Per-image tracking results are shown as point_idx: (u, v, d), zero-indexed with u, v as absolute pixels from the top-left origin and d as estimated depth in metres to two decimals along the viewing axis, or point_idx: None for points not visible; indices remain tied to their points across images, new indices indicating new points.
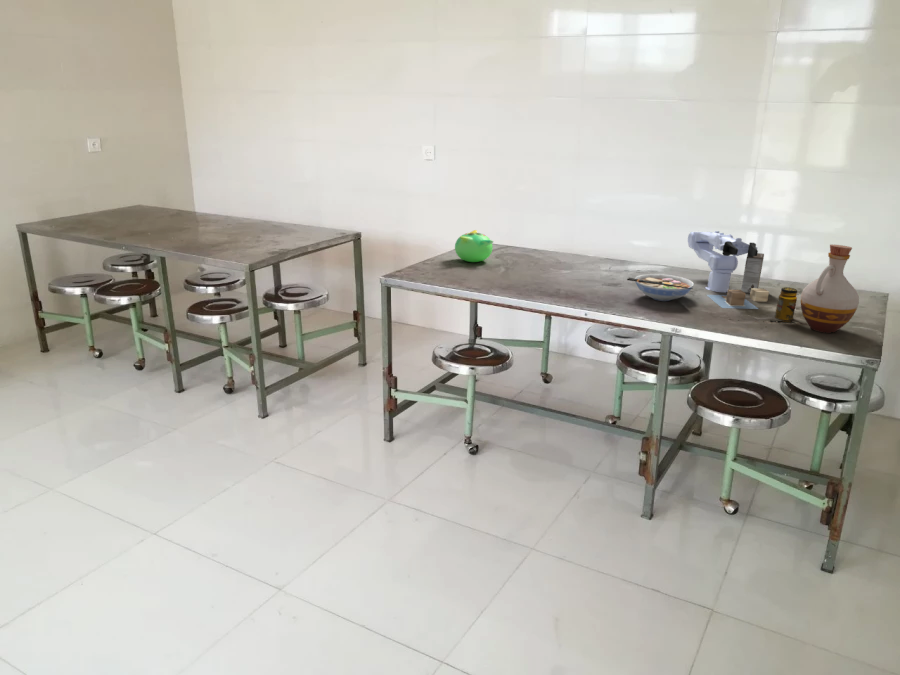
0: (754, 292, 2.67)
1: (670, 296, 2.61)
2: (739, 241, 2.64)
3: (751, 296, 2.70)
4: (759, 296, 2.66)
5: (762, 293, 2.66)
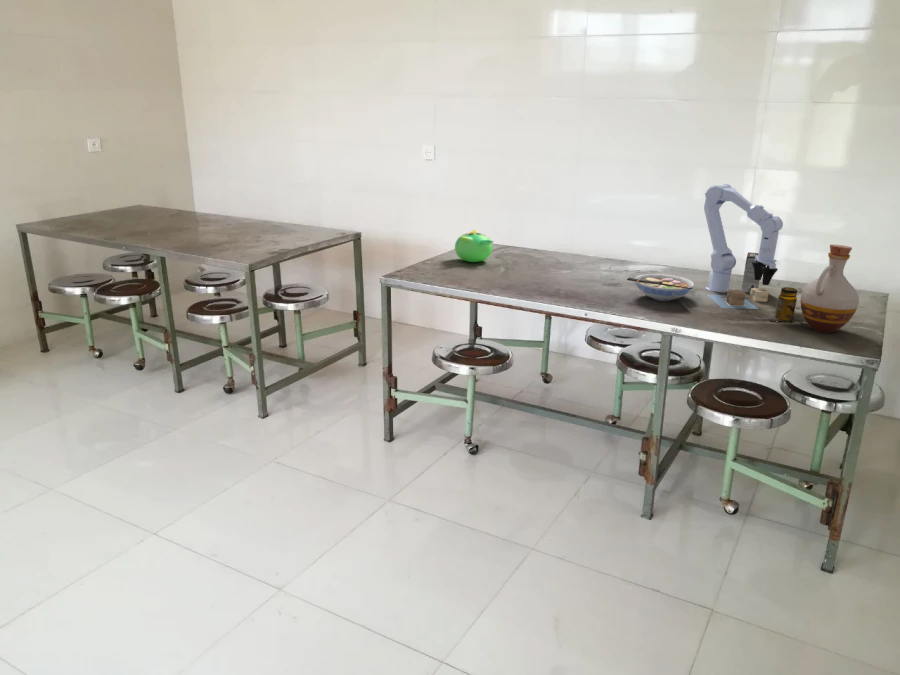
0: (754, 292, 2.67)
1: (670, 296, 2.61)
2: None
3: (751, 296, 2.70)
4: (759, 296, 2.66)
5: (762, 293, 2.66)
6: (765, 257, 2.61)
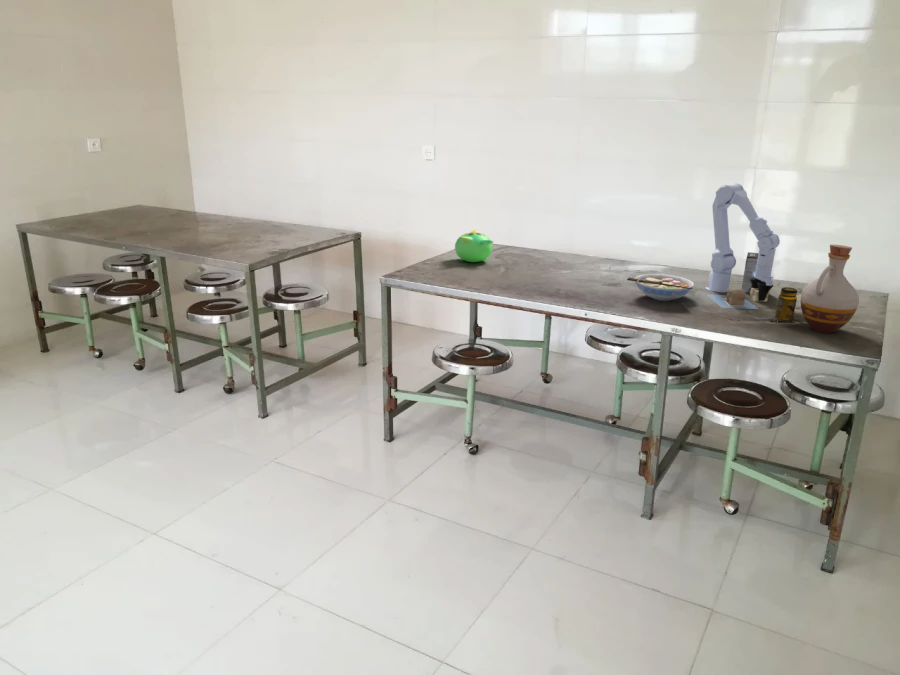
0: (754, 292, 2.67)
1: (670, 296, 2.61)
2: None
3: (751, 296, 2.70)
4: None
5: None
6: (762, 274, 2.63)
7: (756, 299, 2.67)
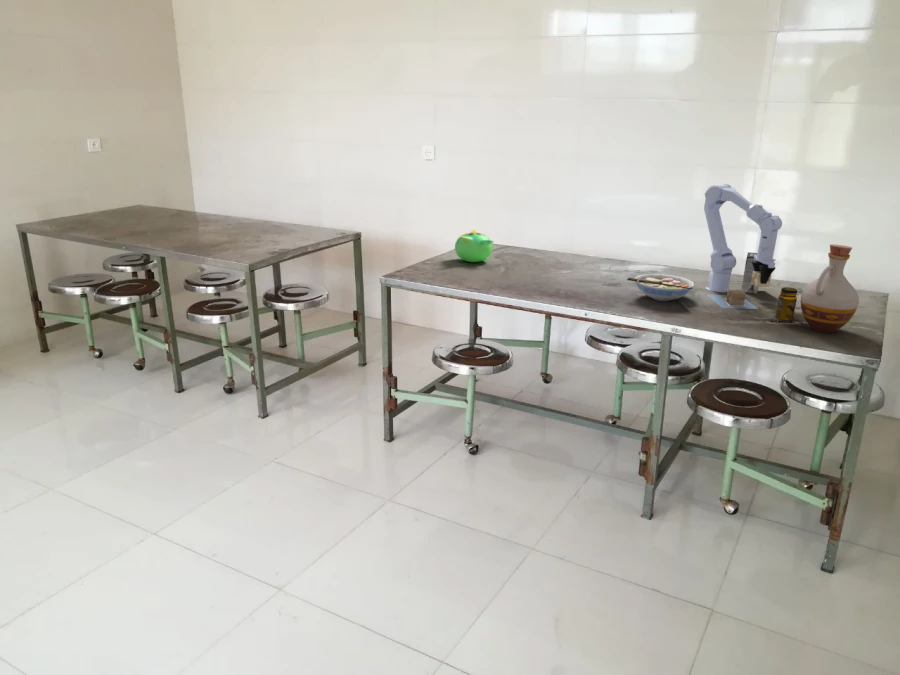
0: (756, 275, 2.64)
1: (670, 296, 2.61)
2: None
3: (753, 279, 2.67)
4: None
5: None
6: (764, 257, 2.60)
7: (758, 282, 2.64)
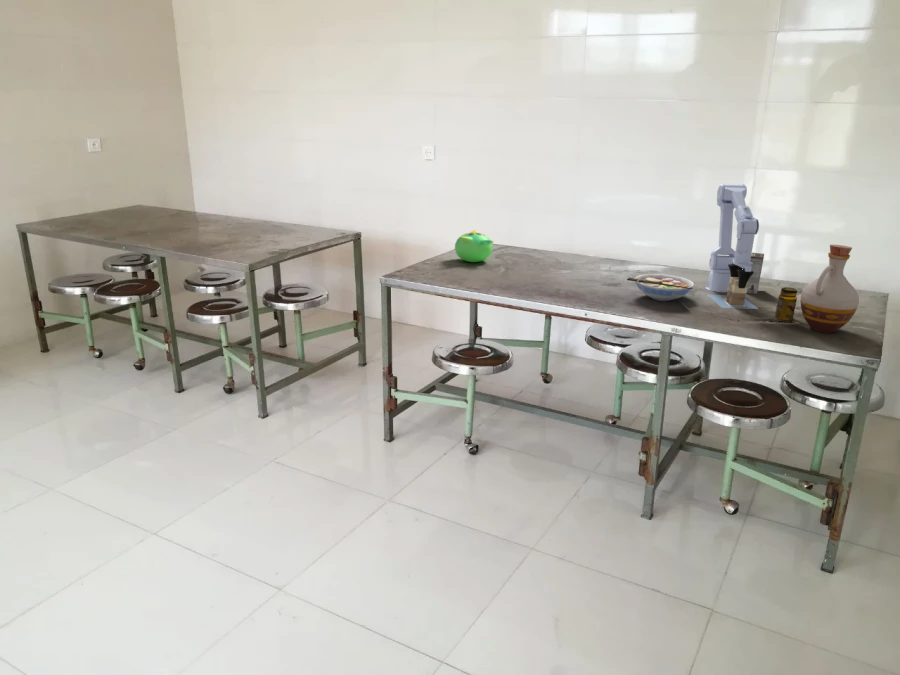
0: (733, 281, 2.59)
1: (670, 296, 2.61)
2: None
3: (730, 285, 2.61)
4: None
5: None
6: (741, 260, 2.54)
7: (735, 288, 2.58)
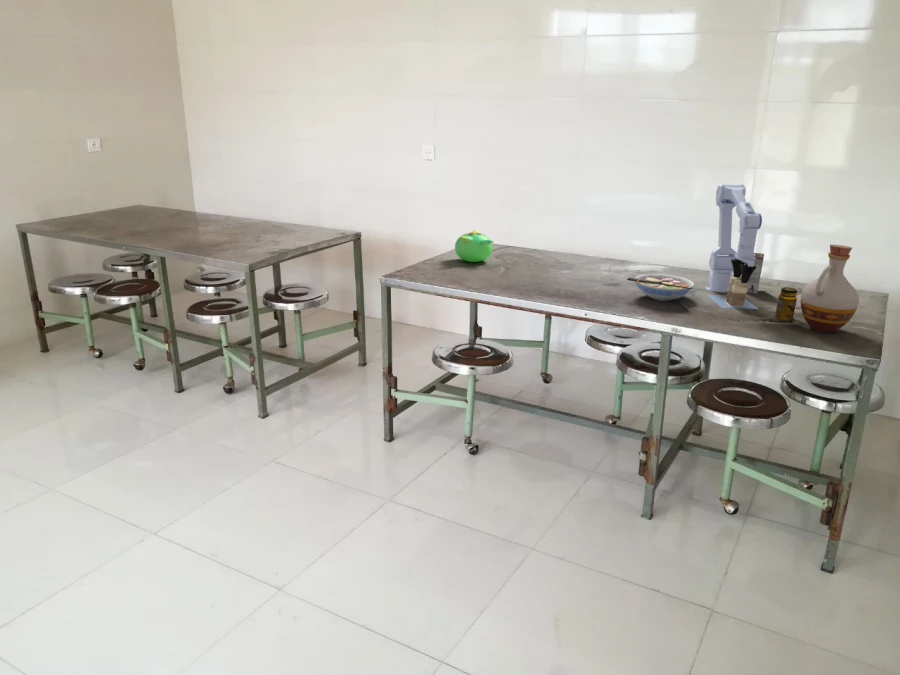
0: (733, 281, 2.59)
1: (670, 296, 2.61)
2: None
3: (730, 285, 2.61)
4: (738, 285, 2.58)
5: None
6: (744, 255, 2.54)
7: (735, 288, 2.58)
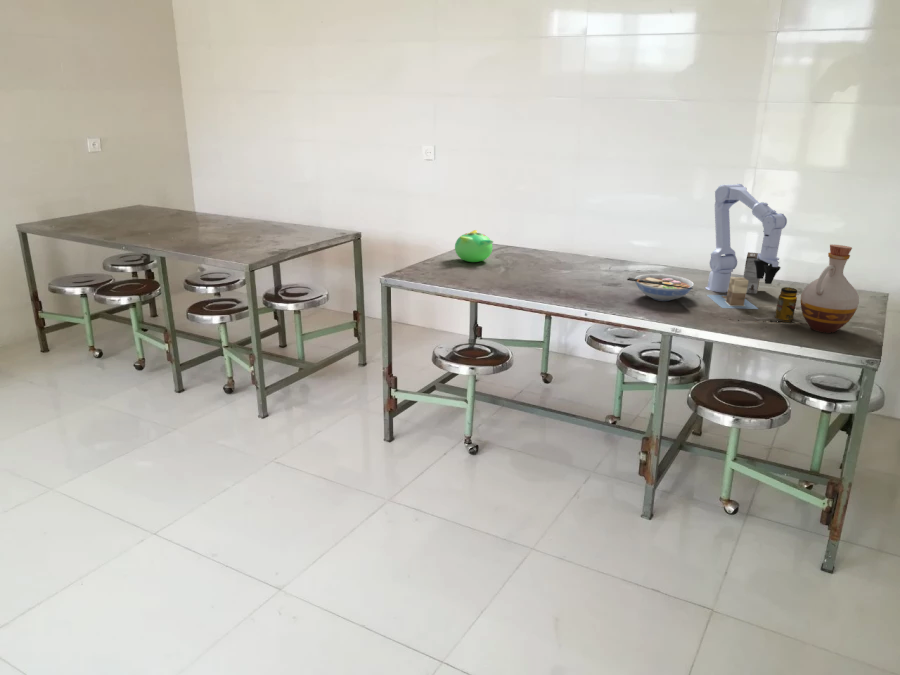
0: (733, 281, 2.59)
1: (670, 296, 2.61)
2: None
3: (730, 285, 2.61)
4: (738, 285, 2.58)
5: (741, 282, 2.57)
6: (768, 255, 2.53)
7: (735, 288, 2.58)
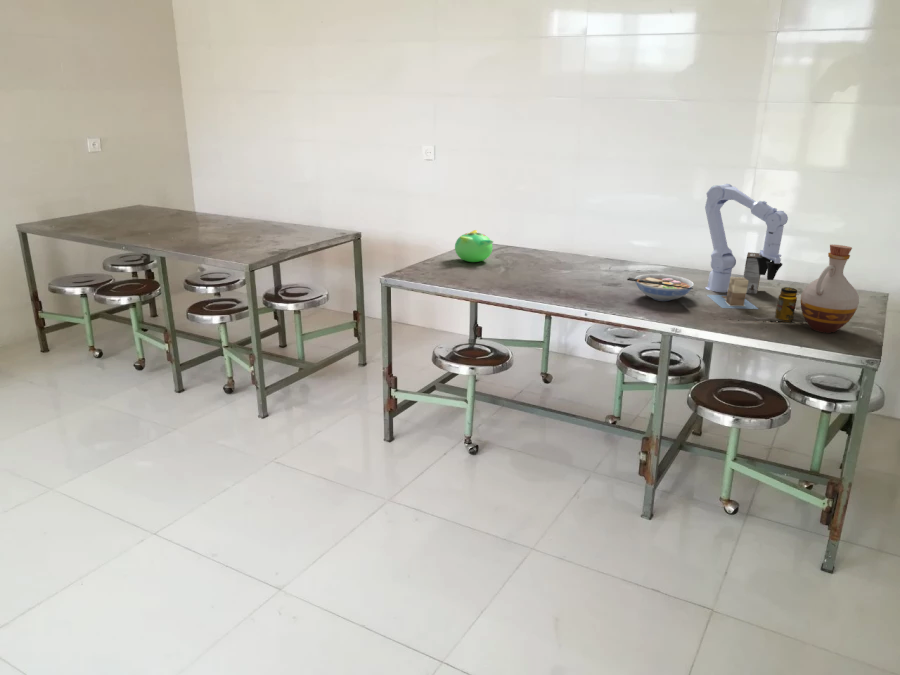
0: (733, 281, 2.59)
1: (670, 296, 2.61)
2: None
3: (730, 285, 2.61)
4: (738, 285, 2.58)
5: (741, 282, 2.57)
6: (770, 252, 2.59)
7: (735, 288, 2.58)
